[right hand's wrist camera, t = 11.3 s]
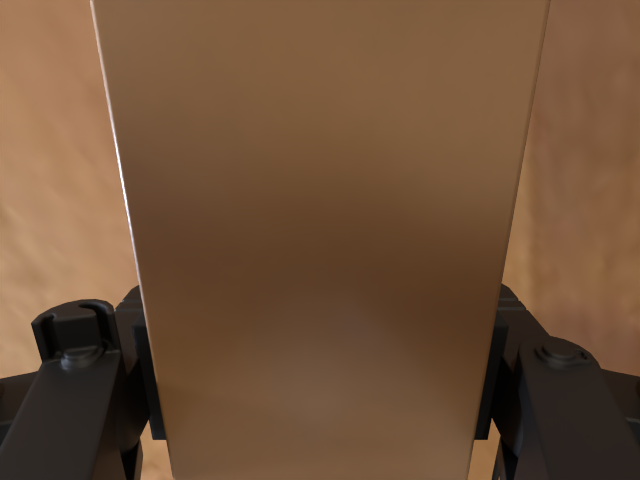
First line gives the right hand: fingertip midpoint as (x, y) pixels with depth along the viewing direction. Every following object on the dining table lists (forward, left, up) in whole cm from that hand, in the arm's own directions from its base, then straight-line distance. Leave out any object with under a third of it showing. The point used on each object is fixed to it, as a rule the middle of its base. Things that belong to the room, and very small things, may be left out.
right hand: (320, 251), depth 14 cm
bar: (+3, -28, -1) cm, 28 cm away
